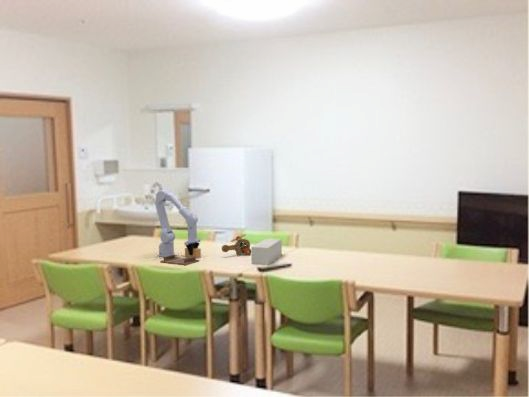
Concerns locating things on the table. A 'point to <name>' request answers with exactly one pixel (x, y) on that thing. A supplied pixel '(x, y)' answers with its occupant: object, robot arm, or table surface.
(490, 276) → the table surface
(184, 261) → the walnut cradle
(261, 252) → the grey rectangular brick
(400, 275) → the table surface
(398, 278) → the table surface
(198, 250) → the tall tan cuboid
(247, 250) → the brown lumpy shape
